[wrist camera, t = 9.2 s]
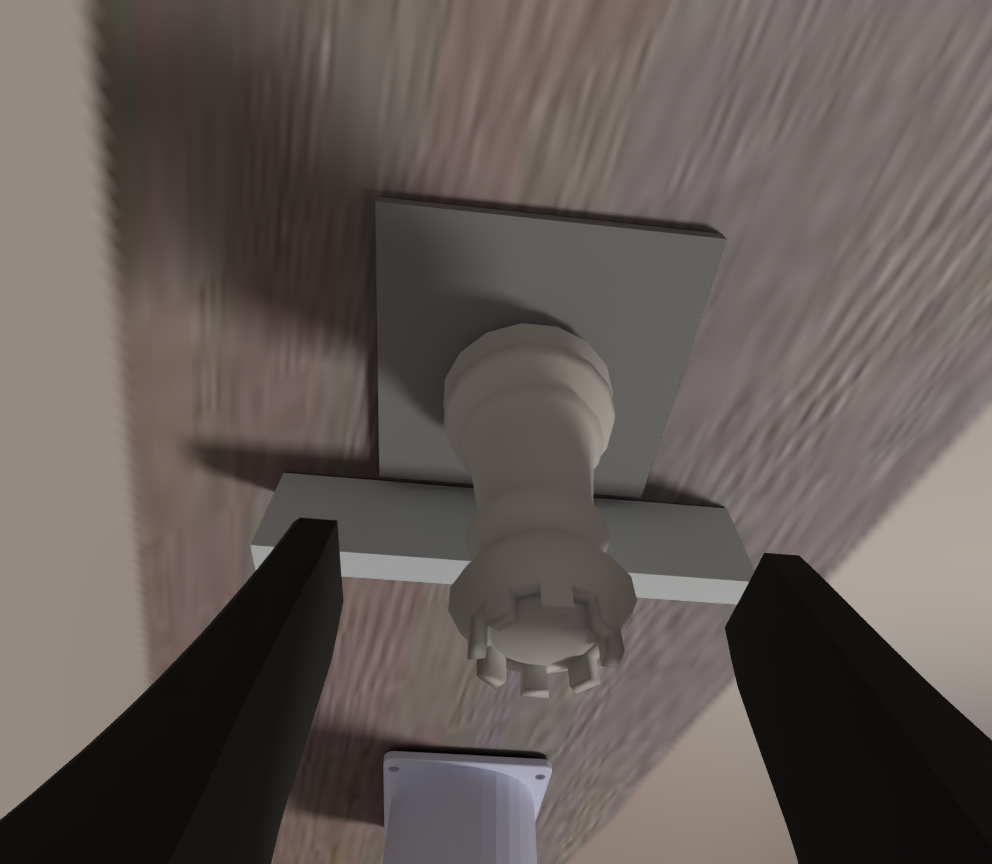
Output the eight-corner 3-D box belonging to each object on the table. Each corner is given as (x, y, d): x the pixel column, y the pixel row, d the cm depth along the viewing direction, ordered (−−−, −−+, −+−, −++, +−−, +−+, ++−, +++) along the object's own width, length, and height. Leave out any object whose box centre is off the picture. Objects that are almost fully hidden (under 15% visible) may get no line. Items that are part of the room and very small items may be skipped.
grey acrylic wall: (716, 530, 20) (747, 605, 17) (286, 496, 19) (255, 569, 16) (726, 508, 19) (760, 582, 17) (283, 472, 18) (250, 545, 16)
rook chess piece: (411, 360, 16) (348, 618, 9) (569, 283, 14) (627, 519, 8) (492, 476, 18) (488, 748, 11) (634, 419, 17) (720, 688, 10)
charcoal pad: (638, 489, 19) (641, 498, 18) (381, 468, 18) (379, 476, 18) (721, 233, 14) (726, 239, 14) (378, 196, 14) (374, 201, 13)
